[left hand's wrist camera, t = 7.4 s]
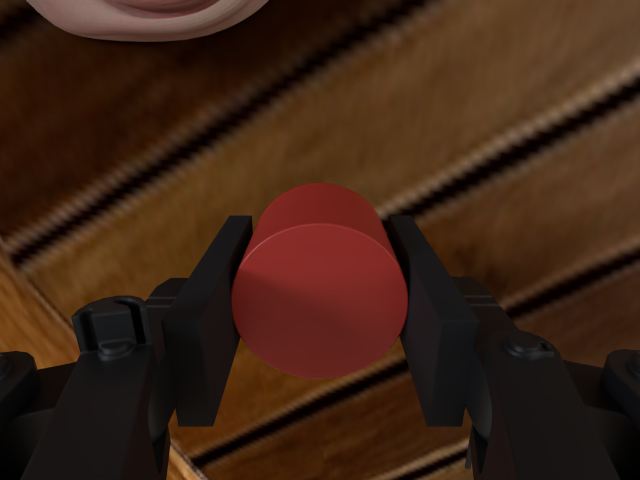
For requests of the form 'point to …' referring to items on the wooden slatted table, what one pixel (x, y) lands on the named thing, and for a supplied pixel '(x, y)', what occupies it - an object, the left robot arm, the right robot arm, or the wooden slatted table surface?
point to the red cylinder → (319, 284)
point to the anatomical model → (145, 17)
